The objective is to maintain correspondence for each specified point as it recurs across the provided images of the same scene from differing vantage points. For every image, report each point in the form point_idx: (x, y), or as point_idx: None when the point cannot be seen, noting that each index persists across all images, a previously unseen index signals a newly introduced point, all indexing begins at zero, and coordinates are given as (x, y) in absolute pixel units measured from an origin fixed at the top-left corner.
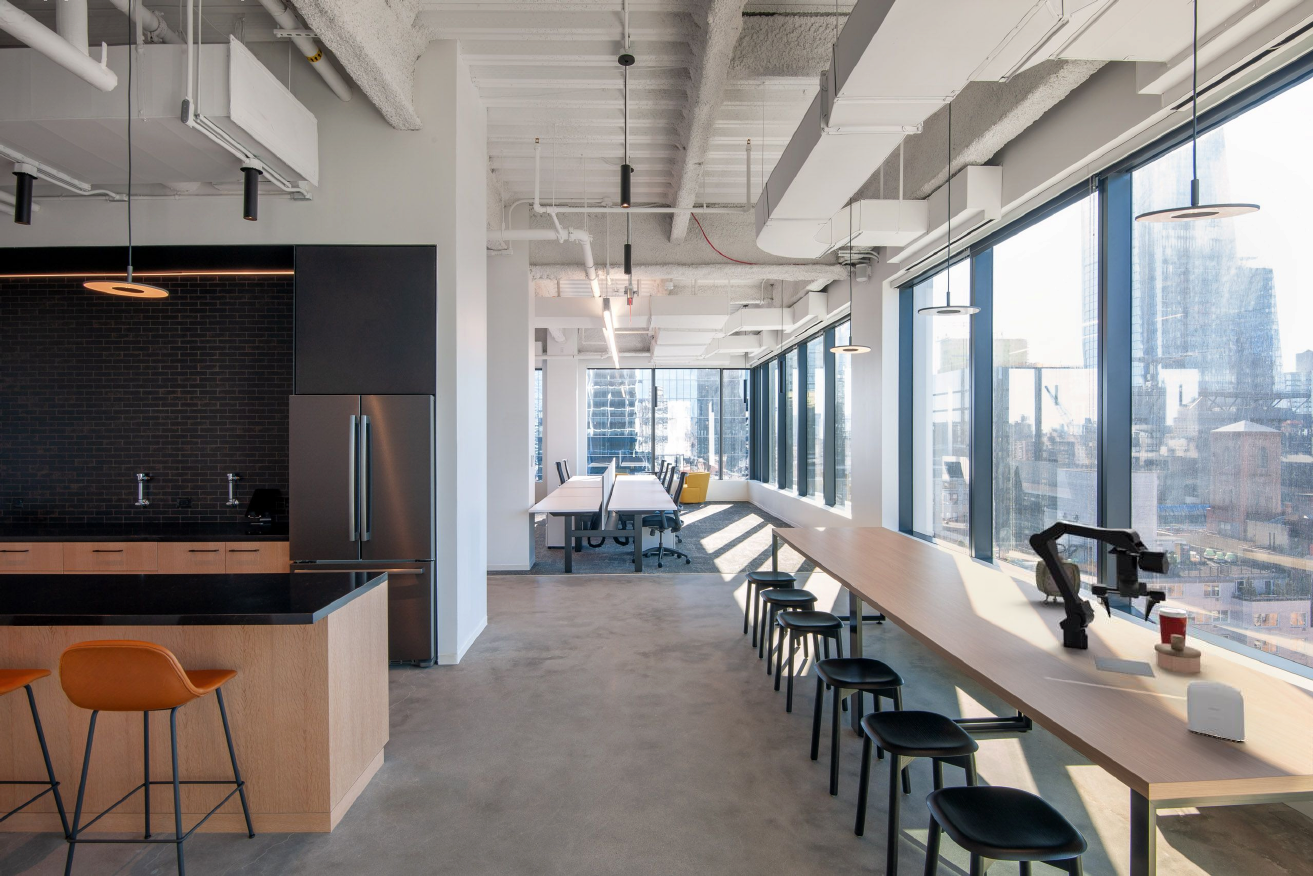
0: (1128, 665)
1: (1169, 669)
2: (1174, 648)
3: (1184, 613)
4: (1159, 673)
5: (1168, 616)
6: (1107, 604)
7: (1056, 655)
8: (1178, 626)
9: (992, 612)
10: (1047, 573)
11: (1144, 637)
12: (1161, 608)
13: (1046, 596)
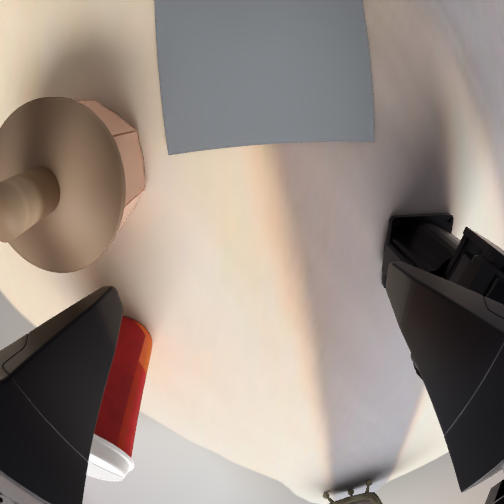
0: (245, 60)
1: (100, 104)
2: (42, 169)
3: None
4: (136, 58)
5: None
6: (497, 320)
7: (472, 115)
8: None
9: None
10: None
11: (212, 427)
12: (119, 476)
13: (368, 490)
